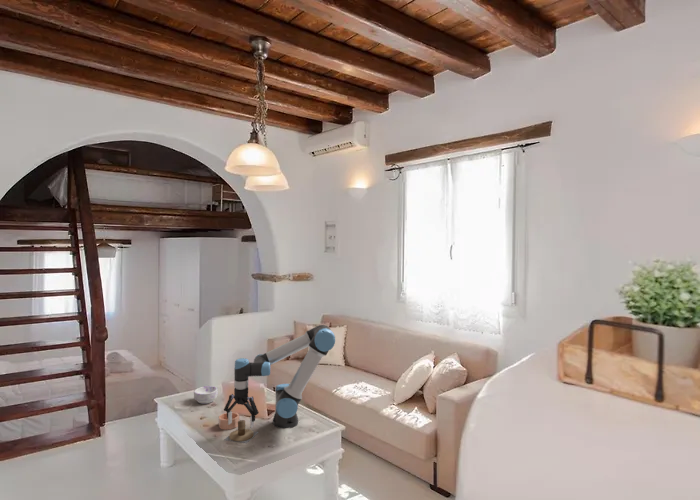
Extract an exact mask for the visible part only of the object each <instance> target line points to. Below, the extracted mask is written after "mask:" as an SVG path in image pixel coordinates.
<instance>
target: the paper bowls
mask: <svg viewBox="0 0 700 500" xmlns="http://www.w3.org/2000/svg"><path fill="white" fill-rule="evenodd" d="M217 397H218V387H217V386H213V385H206V386H201V387H198V388H195V390H194V391H193V399H194V401H197V402H198V403H199V404H201V405H202V404H203V405H204V404H205V405H206V404H210V403H213V402H214V400H215V399H216V398H217Z"/></svg>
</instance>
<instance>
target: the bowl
mask: <svg viewBox="0 0 700 500" xmlns="http://www.w3.org/2000/svg"><path fill="white" fill-rule="evenodd" d="M238 421H240V414H239V413H238V412H233V411H232V423H231V424H230V425H228V418H227V412H225V413H221V414H220V415H219V416H218V427H219V429H221V430H226V431H227V430H235V429H237V428H238Z"/></svg>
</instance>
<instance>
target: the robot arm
mask: <svg viewBox="0 0 700 500" xmlns="http://www.w3.org/2000/svg"><path fill="white" fill-rule="evenodd" d="M335 344H336V336H335V333H334V332H333V331H332V330H331V328H330V327H329V326H327V325H324V324H319V325H317V326H315V327H312V328H311V329H309V330H306V331H305V333H304V334H302V335H300V336H298V337H296V338H293V339H292V340H290V341H288V342H285V343H283V344H281V345H280V346H277V347H276V348H273V349H272V350H269V351H267V352H265V353H263V354H260V353H259V354H257V355H256V356H255V357H254V359H253V362H250V361H249V360H250V359H249V358H241V357H240V358H238V359H236V360H235V361H234V370H233V371H234V374H233V375H234V384H233V385H234V387H233V389H234V390H233V391H234V392H233V393H234V394H233V393H231V394H230V395H228V400H227V402H226V404H225V406H224V408H223V411H224V412H225V413H227V418H228V425H230V424H231V423H232V412H233V411H232V410H233V409H234V407H235V406H236V405H240V406H244V407H245V408H246V409H247V411H248V412H249V414H250V417H249V420H250V421H249V429H252V428H253V427H254V426H255V421H256V416H257V415H259V409H258V407H257V405H256V403H255V400H254V396H249V377H267V376H268V377H269V376H270V375H271V365H273V364H275V363H277V362H280V361H282V360H283V359H285V358H288V357H290V356H292V355H294V354H297V353H298V352H300V351H302V350H304V349H307V348H308V349H309V350H307V353H306V354H305V356H304V358H303V359H302V361H301V363H300V364H299V367H298V368H297V370H296V372H295V374H294V375H293V377H292V379H291V380H290V382H289V383H281V384H277V385H276V386H275V389H274V390H275V412H274V415H273V417H272V425H273V426H274V427H275V428H279V429H280V428H281V429H288V428H289V429H291V428H294V427H296V426H297V425H299V416H298V414H297V411H298V409H299V407H298V406H299V404H301V403H300V402H301V401H302V399H303V396H302V395H303V394H302V393H303V392H304V390H305V389H306V386H307V385H308V383H309V381H310V379H311V378H312V376H313V374H314V372H315V370H316V369H317V366H318V365H319V363H320V362H321V360H322V359H323V357H326V356H327V354H328V353H329V352H330V350H332V349H333V348H334V346H335ZM233 400H234V401H233ZM232 402H233V403H232ZM231 403H232V404H231Z"/></svg>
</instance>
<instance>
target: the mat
mask: <svg viewBox="0 0 700 500" xmlns="http://www.w3.org/2000/svg"><path fill="white" fill-rule="evenodd" d="M235 430H238V428H235ZM252 431H253V432H254V436H253V437H252V438H251V439H249V440H246V441H233V440H231V439H230V438H229V435H228V436H226V437H225V438H224V439H223V441H228V442H234V443H240V444H248V443H249V442H250V441H251V440H252V439H253V438H254V437H255V436H256V435H258V434H259V432H260V431H254V430H252Z"/></svg>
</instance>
